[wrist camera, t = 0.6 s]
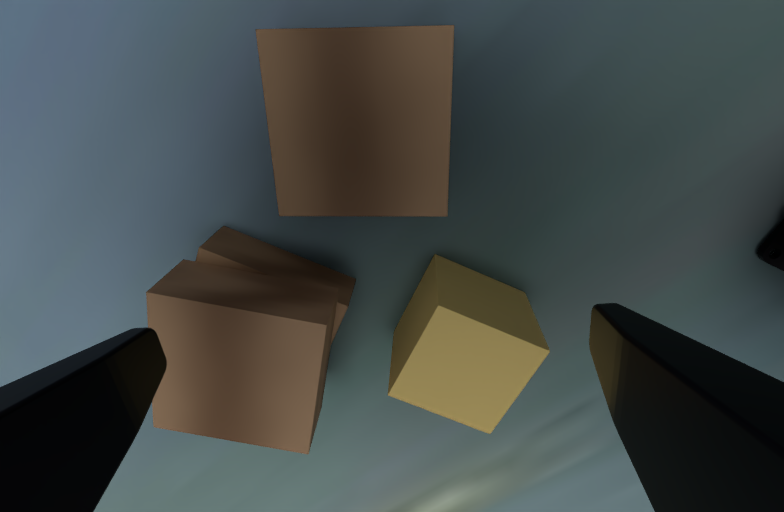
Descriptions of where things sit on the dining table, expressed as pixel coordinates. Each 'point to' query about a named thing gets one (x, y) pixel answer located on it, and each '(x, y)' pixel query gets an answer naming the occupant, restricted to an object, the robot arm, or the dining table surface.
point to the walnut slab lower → (273, 264)
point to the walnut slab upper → (241, 354)
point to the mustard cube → (465, 346)
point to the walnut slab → (359, 119)
